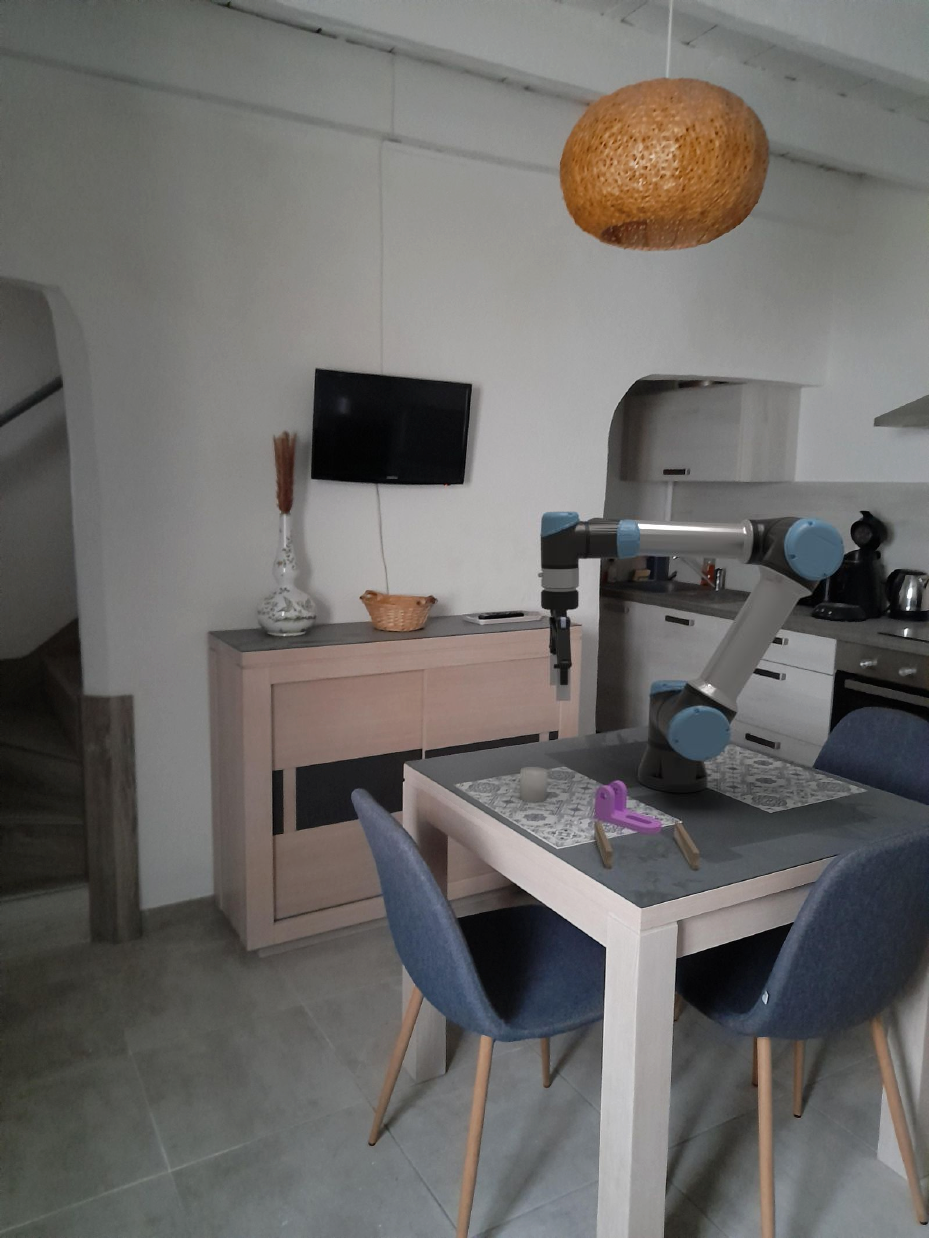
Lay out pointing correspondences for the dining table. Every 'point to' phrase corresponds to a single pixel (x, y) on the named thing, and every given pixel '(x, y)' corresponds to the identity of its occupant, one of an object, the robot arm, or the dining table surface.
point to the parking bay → (679, 835)
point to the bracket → (621, 810)
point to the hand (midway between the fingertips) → (559, 692)
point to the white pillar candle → (533, 784)
